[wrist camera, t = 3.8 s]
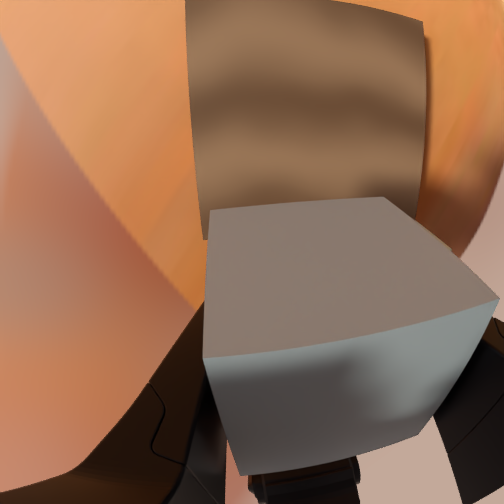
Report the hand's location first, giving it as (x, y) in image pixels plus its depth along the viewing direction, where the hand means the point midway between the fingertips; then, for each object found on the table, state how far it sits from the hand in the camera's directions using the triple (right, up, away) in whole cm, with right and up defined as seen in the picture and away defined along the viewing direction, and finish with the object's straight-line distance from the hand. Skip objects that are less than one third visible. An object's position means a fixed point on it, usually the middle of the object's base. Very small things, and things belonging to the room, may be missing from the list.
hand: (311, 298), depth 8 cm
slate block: (0, +1, +1) cm, 1 cm away
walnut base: (+2, +10, +8) cm, 13 cm away
